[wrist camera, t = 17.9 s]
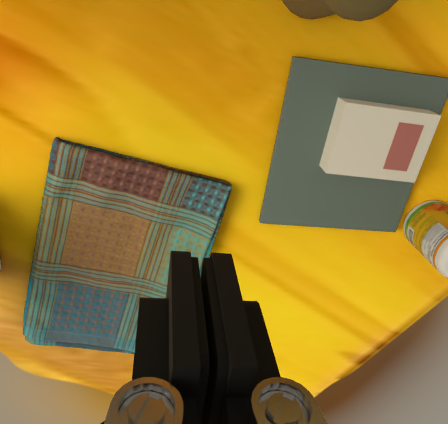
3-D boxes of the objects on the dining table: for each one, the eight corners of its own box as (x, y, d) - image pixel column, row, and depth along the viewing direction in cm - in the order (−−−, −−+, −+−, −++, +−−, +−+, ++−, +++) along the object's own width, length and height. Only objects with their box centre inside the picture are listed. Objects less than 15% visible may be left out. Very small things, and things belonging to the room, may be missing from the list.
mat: (292, 56, 35) (294, 57, 35) (449, 78, 38) (453, 79, 37) (259, 220, 42) (260, 223, 42) (392, 229, 45) (395, 232, 44)
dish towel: (23, 328, 46) (16, 345, 44) (52, 132, 36) (44, 142, 34) (173, 350, 50) (173, 366, 48) (234, 179, 41) (238, 190, 38)
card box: (346, 102, 35) (441, 115, 36) (337, 96, 37) (428, 109, 38) (326, 173, 38) (415, 182, 39) (319, 165, 40) (404, 174, 41)
